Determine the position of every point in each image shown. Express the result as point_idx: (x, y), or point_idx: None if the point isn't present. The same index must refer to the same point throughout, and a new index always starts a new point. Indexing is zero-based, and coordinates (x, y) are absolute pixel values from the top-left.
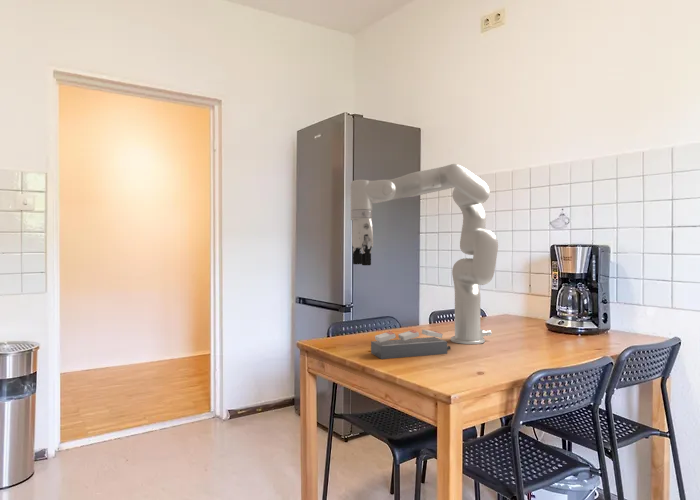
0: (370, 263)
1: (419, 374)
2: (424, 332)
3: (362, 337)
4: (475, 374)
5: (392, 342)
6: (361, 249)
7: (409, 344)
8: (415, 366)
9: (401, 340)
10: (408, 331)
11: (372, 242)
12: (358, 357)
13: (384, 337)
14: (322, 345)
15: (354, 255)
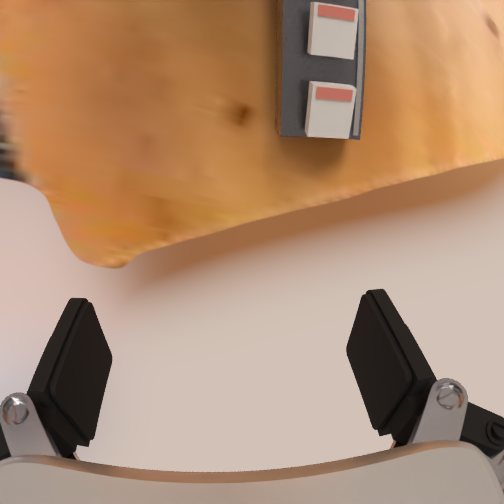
0: (387, 300)
1: (467, 123)
2: None
3: (46, 97)
4: (496, 40)
5: (319, 81)
6: (49, 443)
7: (364, 52)
8: (425, 93)
9: (301, 42)
10: (317, 19)
11: (500, 489)
12: (301, 174)
13: (350, 123)
14: (131, 226)
15: (93, 421)
